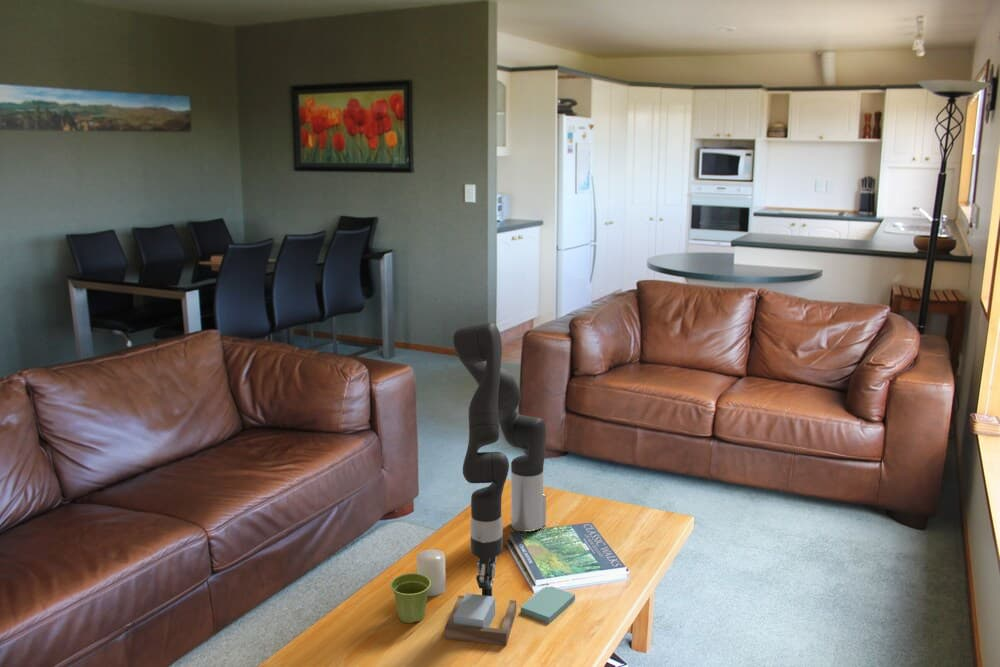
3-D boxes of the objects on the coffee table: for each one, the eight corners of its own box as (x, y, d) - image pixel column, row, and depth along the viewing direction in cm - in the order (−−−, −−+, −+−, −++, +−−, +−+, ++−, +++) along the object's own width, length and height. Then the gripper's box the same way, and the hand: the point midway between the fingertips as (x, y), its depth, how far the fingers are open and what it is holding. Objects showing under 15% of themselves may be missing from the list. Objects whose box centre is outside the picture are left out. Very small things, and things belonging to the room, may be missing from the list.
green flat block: (546, 592, 207) (547, 584, 207) (574, 601, 203) (575, 594, 202) (520, 614, 198) (520, 606, 197) (549, 625, 193) (549, 617, 193)
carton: (467, 611, 198) (466, 593, 197) (495, 615, 197) (495, 596, 195) (454, 635, 189) (453, 615, 188) (483, 640, 187) (483, 620, 186)
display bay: (458, 606, 200) (458, 595, 199) (516, 612, 198) (516, 600, 197) (445, 639, 187) (445, 627, 186) (506, 645, 185) (506, 633, 184)
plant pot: (438, 609, 199) (437, 576, 197) (421, 631, 190) (420, 597, 188) (402, 602, 202) (401, 570, 200) (385, 623, 193) (383, 590, 191)
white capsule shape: (436, 578, 213) (435, 546, 211) (451, 590, 207) (450, 557, 205) (412, 587, 209) (411, 554, 207) (426, 599, 203) (425, 566, 201)
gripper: (476, 519, 201) (477, 583, 205) (464, 545, 189) (465, 613, 193) (507, 521, 200) (507, 586, 204) (497, 547, 187) (497, 616, 191)
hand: (487, 599), depth 198 cm, fingers closed
